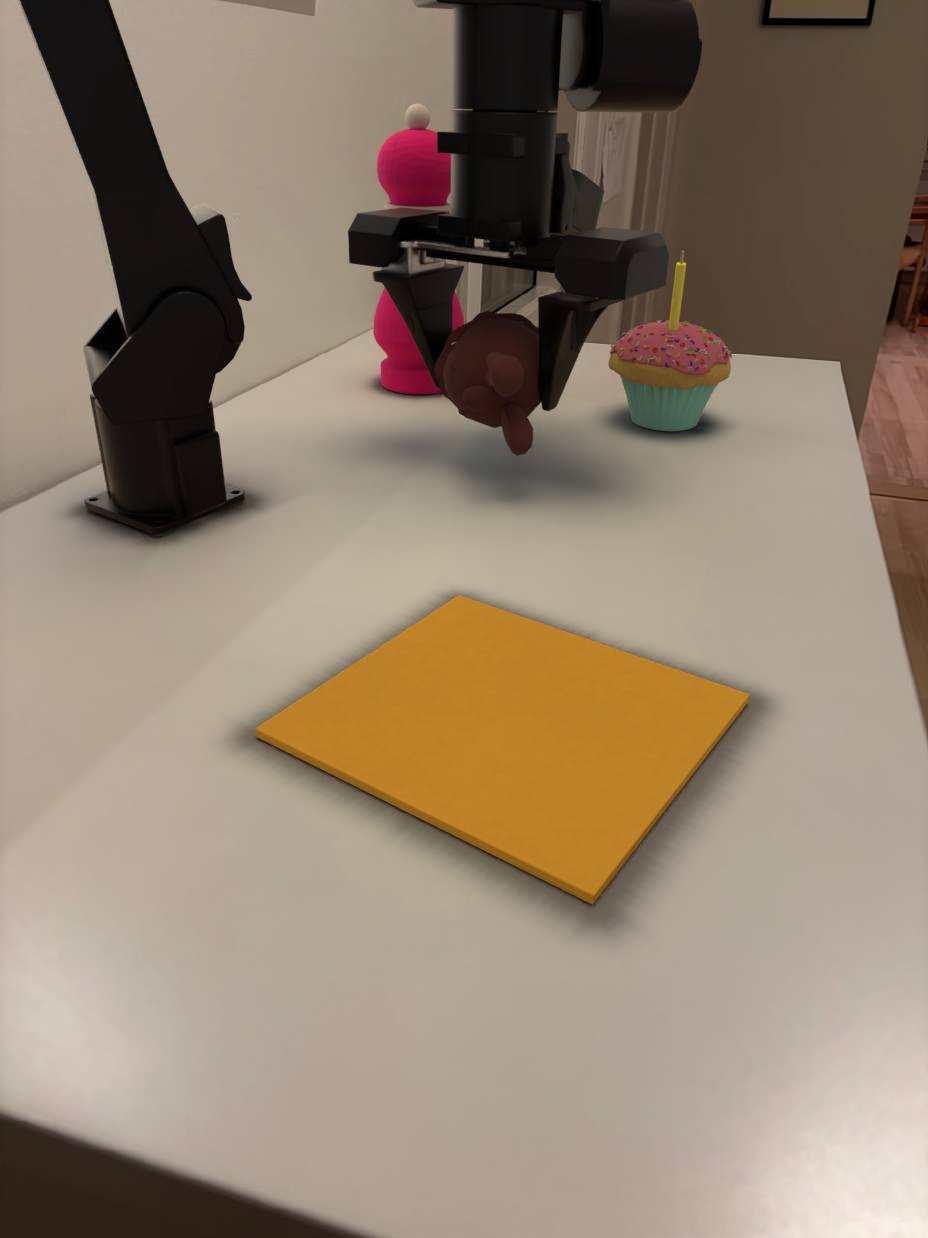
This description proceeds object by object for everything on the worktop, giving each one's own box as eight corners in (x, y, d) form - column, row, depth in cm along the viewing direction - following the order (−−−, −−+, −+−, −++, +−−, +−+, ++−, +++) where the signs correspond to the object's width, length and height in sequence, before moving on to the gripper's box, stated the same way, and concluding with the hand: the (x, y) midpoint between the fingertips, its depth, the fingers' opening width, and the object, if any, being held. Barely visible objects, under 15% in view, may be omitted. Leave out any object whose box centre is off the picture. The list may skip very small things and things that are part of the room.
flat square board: (255, 737, 34) (254, 728, 34) (458, 601, 44) (458, 594, 44) (592, 905, 28) (593, 895, 27) (748, 702, 37) (750, 694, 37)
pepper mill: (362, 392, 74) (351, 102, 64) (390, 369, 80) (384, 101, 70) (451, 400, 72) (454, 104, 62) (472, 376, 78) (478, 104, 69)
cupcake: (723, 444, 64) (753, 258, 58) (599, 434, 65) (615, 252, 59) (719, 408, 71) (745, 240, 65) (607, 400, 73) (622, 235, 67)
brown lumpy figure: (416, 294, 62) (432, 373, 49) (525, 265, 61) (569, 338, 49) (441, 392, 65) (462, 488, 53) (544, 365, 65) (588, 456, 53)
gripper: (726, 115, 51) (687, 395, 59) (450, 107, 61) (448, 350, 68) (637, 116, 43) (606, 440, 51) (335, 106, 53) (347, 382, 60)
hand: (494, 397), depth 58 cm, fingers closed on brown lumpy figure, 7 cm apart
